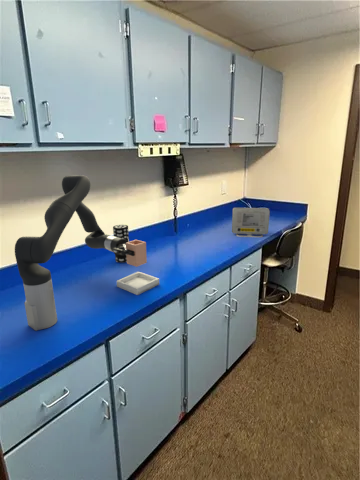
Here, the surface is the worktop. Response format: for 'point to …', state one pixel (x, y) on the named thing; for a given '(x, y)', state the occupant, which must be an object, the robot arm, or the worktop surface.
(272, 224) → the worktop surface
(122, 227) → the white-spotted black cylinder
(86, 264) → the worktop surface
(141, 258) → the cup
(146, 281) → the tray
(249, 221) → the network device
